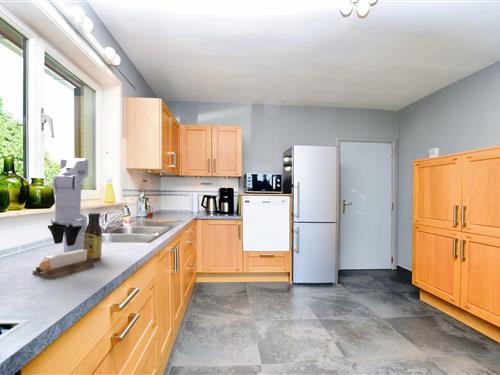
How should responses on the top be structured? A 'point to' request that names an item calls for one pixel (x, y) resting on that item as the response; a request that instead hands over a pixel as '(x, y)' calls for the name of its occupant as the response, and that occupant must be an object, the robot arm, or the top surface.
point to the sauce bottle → (93, 237)
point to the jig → (64, 269)
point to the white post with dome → (63, 259)
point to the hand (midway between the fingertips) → (64, 244)
